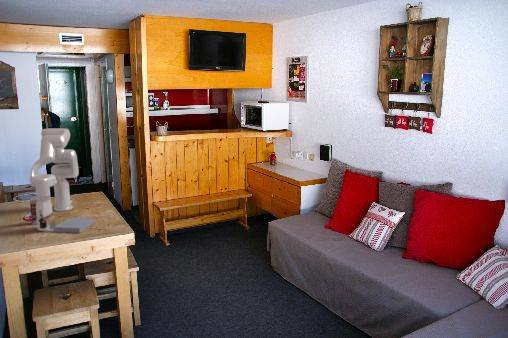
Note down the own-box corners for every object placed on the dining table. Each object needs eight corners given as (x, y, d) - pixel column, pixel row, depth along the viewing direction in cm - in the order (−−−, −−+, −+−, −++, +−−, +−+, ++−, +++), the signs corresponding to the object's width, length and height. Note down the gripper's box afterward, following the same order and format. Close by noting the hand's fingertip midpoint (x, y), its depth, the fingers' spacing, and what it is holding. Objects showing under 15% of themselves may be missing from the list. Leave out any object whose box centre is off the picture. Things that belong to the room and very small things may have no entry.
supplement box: (32, 225, 273) (29, 200, 270) (32, 222, 277) (29, 198, 274) (47, 223, 277) (45, 198, 274) (47, 220, 281) (44, 197, 278)
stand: (69, 222, 278) (68, 217, 278) (93, 223, 277) (93, 218, 276) (54, 232, 261) (53, 227, 260) (79, 232, 259) (79, 228, 259)
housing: (43, 227, 269) (41, 215, 267) (55, 228, 268) (54, 215, 266) (37, 230, 263) (36, 218, 261) (50, 231, 262) (49, 218, 260)
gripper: (45, 193, 270) (48, 221, 274) (29, 201, 253) (32, 230, 257) (57, 194, 269) (59, 221, 273) (41, 201, 253) (44, 231, 256)
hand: (46, 225), depth 265 cm, fingers open, 6 cm apart
